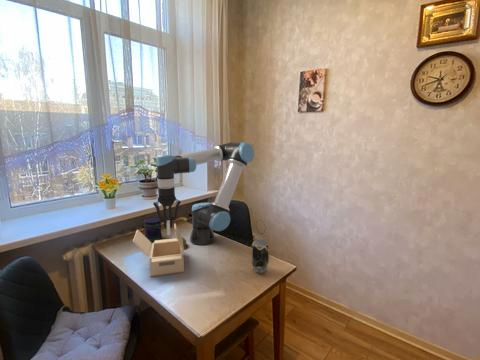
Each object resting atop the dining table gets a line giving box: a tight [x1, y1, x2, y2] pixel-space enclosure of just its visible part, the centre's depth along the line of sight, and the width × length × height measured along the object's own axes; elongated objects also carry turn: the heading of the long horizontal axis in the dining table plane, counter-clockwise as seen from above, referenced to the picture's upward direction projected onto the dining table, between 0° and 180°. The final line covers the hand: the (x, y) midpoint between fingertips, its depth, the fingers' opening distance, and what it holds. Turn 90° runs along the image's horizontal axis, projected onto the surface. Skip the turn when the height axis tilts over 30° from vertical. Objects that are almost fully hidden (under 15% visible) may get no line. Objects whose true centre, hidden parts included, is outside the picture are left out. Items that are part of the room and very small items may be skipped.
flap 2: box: [174, 223, 185, 253], centre depth 124 cm, size 10×15×1 cm
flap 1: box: [132, 229, 152, 257], centre depth 119 cm, size 10×15×1 cm
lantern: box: [251, 219, 270, 274], centre depth 119 cm, size 9×8×25 cm
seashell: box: [181, 236, 188, 250], centre depth 144 cm, size 10×7×8 cm
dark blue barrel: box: [143, 216, 163, 245], centre depth 150 cm, size 10×10×15 cm
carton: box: [149, 237, 185, 278], centre depth 124 cm, size 15×25×9 cm, turn 16°
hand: (168, 234), depth 122 cm, fingers closed
